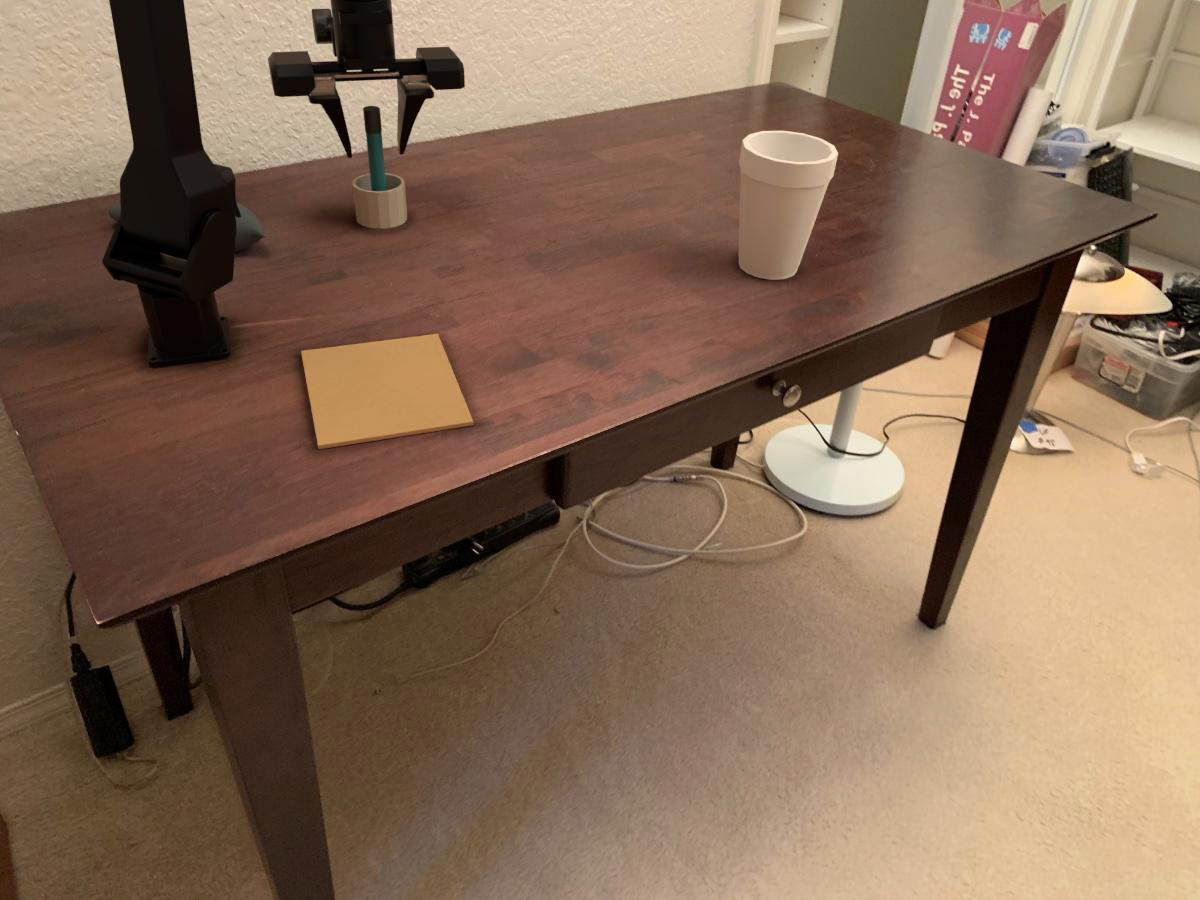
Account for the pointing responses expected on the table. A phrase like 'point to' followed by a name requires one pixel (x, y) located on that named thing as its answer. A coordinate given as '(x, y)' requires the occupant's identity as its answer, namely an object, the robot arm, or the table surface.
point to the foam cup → (780, 199)
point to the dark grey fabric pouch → (245, 226)
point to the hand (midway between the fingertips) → (375, 154)
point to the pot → (380, 202)
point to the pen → (375, 147)
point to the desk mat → (382, 390)
